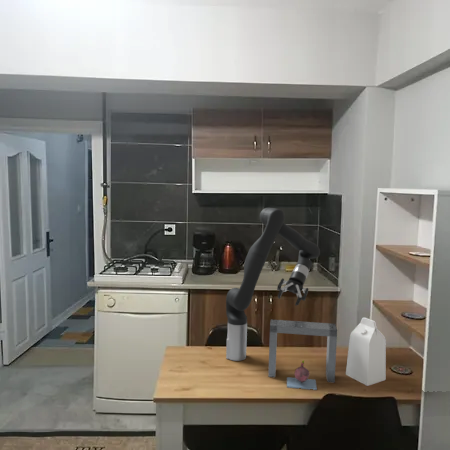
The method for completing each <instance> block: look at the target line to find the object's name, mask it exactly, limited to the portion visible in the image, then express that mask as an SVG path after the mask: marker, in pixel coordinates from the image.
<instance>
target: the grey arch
mask: <svg viewBox="0 0 450 450" xmlns="http://www.w3.org/2000/svg"><path fill="white" fill-rule="evenodd" d="M336 325H337V324H336V323H330V322H329V323H328V322H315V321H311V322H310V321H298V320H285V319H270V322H269V344H268V345H269V347H268V348H269V349H268V376H267V378H276V371H277V349H278V348H277V347H278V346H277V345H278V342H277V341H278V334H289V335H292V334H293V335H305V336H317V337H319V336H320V337H326V338H327V339H326V340H327V341H326V359H325V362H326V363H325V378H326V382H327V383H333V384H334V383H335V382H336V381H335V380H336V362H337V361H336V360H337V345H338V343H337V340H338V328H337V326H336Z"/></svg>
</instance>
